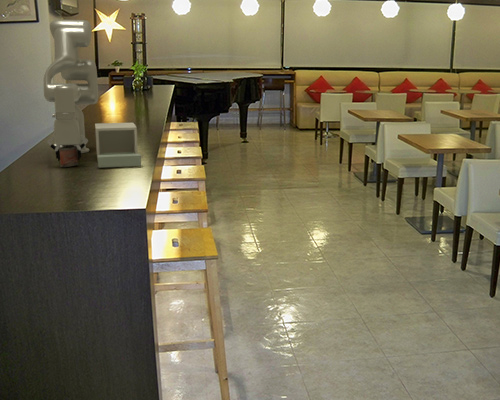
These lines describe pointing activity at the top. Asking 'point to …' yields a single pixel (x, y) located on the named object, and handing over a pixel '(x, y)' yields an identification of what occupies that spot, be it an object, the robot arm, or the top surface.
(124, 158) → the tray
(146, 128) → the top surface
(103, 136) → the cabinet
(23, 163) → the top surface
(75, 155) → the lighter
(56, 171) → the top surface
